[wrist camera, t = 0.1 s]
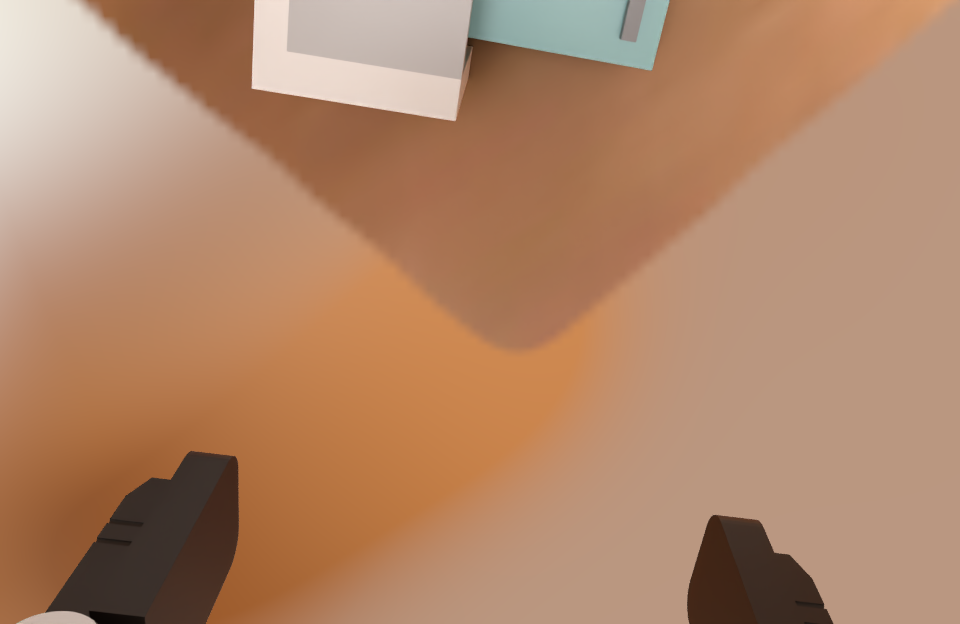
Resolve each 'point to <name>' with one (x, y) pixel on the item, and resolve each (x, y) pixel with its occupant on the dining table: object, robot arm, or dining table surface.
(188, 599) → the robot arm
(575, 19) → the teal box
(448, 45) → the box
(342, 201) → the dining table surface
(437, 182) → the dining table surface
